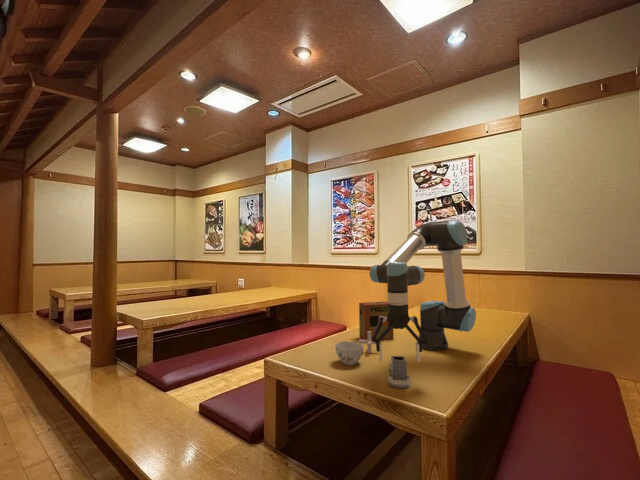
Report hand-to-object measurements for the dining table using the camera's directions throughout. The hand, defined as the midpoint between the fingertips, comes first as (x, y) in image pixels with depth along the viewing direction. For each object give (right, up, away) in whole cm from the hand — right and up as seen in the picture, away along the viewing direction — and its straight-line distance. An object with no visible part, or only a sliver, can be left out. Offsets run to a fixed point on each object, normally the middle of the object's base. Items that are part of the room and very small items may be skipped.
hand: (399, 360), depth 119 cm
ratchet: (0, -9, +5) cm, 10 cm away
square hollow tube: (0, -6, -1) cm, 6 cm away
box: (+2, -11, +61) cm, 62 cm away
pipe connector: (-5, -10, +37) cm, 39 cm away
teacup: (-16, -10, +23) cm, 30 cm away
